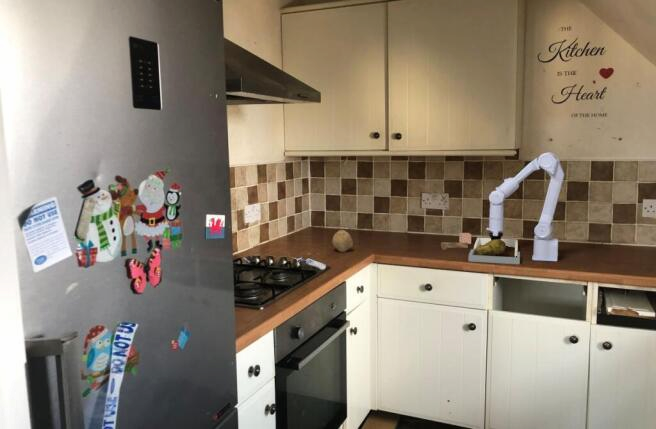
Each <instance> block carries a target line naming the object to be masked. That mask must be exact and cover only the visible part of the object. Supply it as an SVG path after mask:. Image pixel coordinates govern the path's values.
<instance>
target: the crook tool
mask: <svg viewBox="0 0 656 429" xmlns="http://www.w3.org/2000/svg"><path fill="white" fill-rule="evenodd" d="M440 247H441V249H442V250H448V249H449V248H454V249H456V248H459V249H460V248H464V249H465V248H466V249H467V248H469V244H468V243H460V242H446V241H445V242H440Z"/></svg>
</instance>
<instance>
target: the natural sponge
mask: <svg viewBox="0 0 656 429" xmlns="http://www.w3.org/2000/svg"><path fill="white" fill-rule="evenodd" d="M331 242H332V245H333V247H335V249H336V250H337V251H339V252H341V253H346V251H348V250H349V249H351V248H353V245H354V241H353V239H352V237H351V234H350V233H349V232H347V231H346V230H343V229H340V230H337V232H335V233H334V235H333V237H332V241H331Z"/></svg>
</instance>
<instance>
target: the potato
mask: <svg viewBox="0 0 656 429" xmlns="http://www.w3.org/2000/svg"><path fill="white" fill-rule="evenodd" d="M506 248H507V247H506V244H505V242H504V241H502V240H500V239H494V240H491V241H489V242H488V243H486V244H485V245H479V247H477V248H475V249H474V248H473V249H474V255H482V256H496V255H499V254H504V253H505V251H506Z"/></svg>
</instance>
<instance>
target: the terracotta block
mask: <svg viewBox="0 0 656 429" xmlns="http://www.w3.org/2000/svg"><path fill="white" fill-rule="evenodd" d="M458 239H459V240H458V241H459V242H458V243H468V245H471V244H472V234H471V233H470V232H459V238H458Z"/></svg>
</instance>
